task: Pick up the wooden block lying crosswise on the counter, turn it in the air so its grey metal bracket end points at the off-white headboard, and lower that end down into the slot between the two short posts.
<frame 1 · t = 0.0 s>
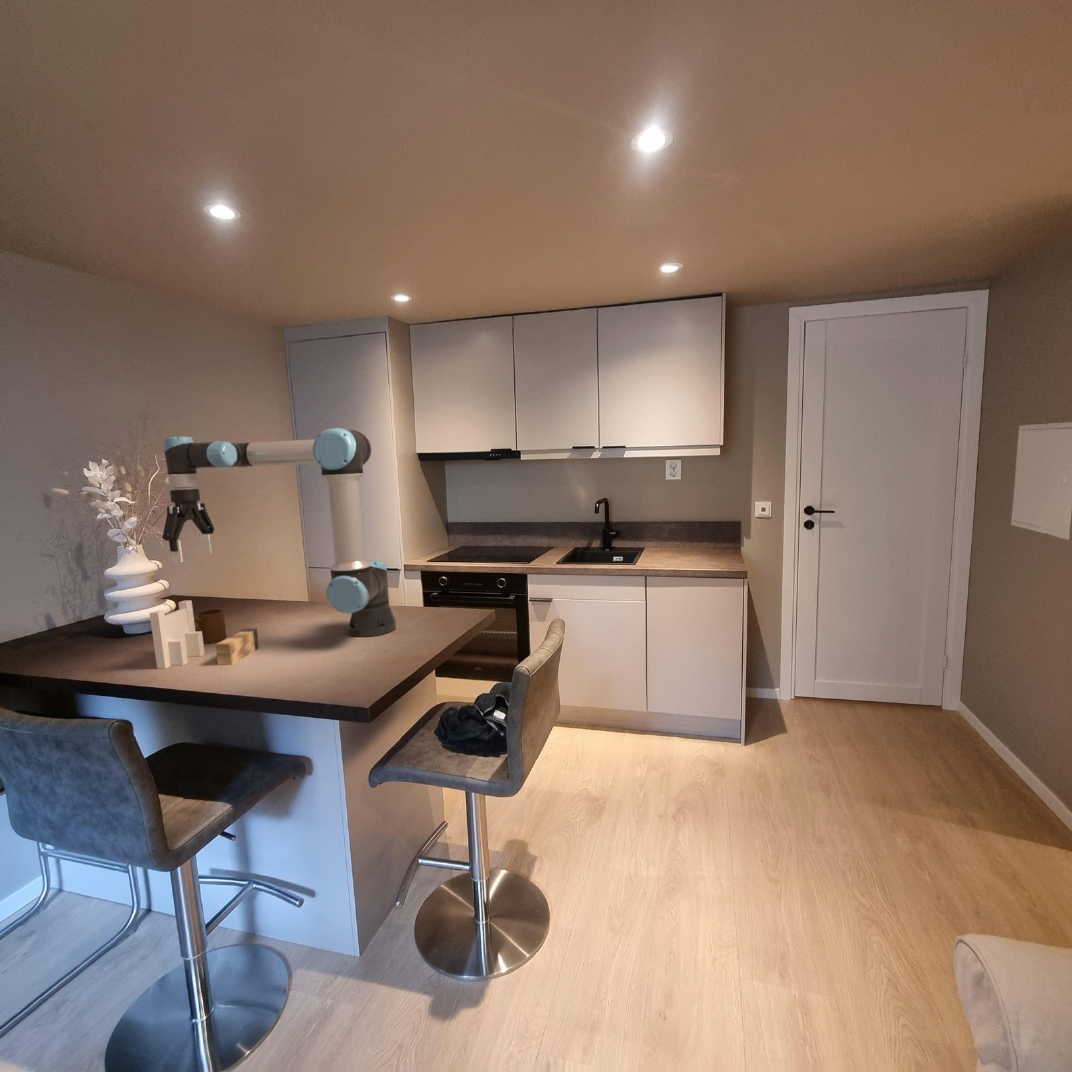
hand: (193, 558, 173), 28 cm above the countertop, fingers open, 13 cm apart
mug: (207, 643, 181), on the countertop
wooden block: (239, 656, 166), on the countertop
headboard: (185, 659, 165), on the countertop
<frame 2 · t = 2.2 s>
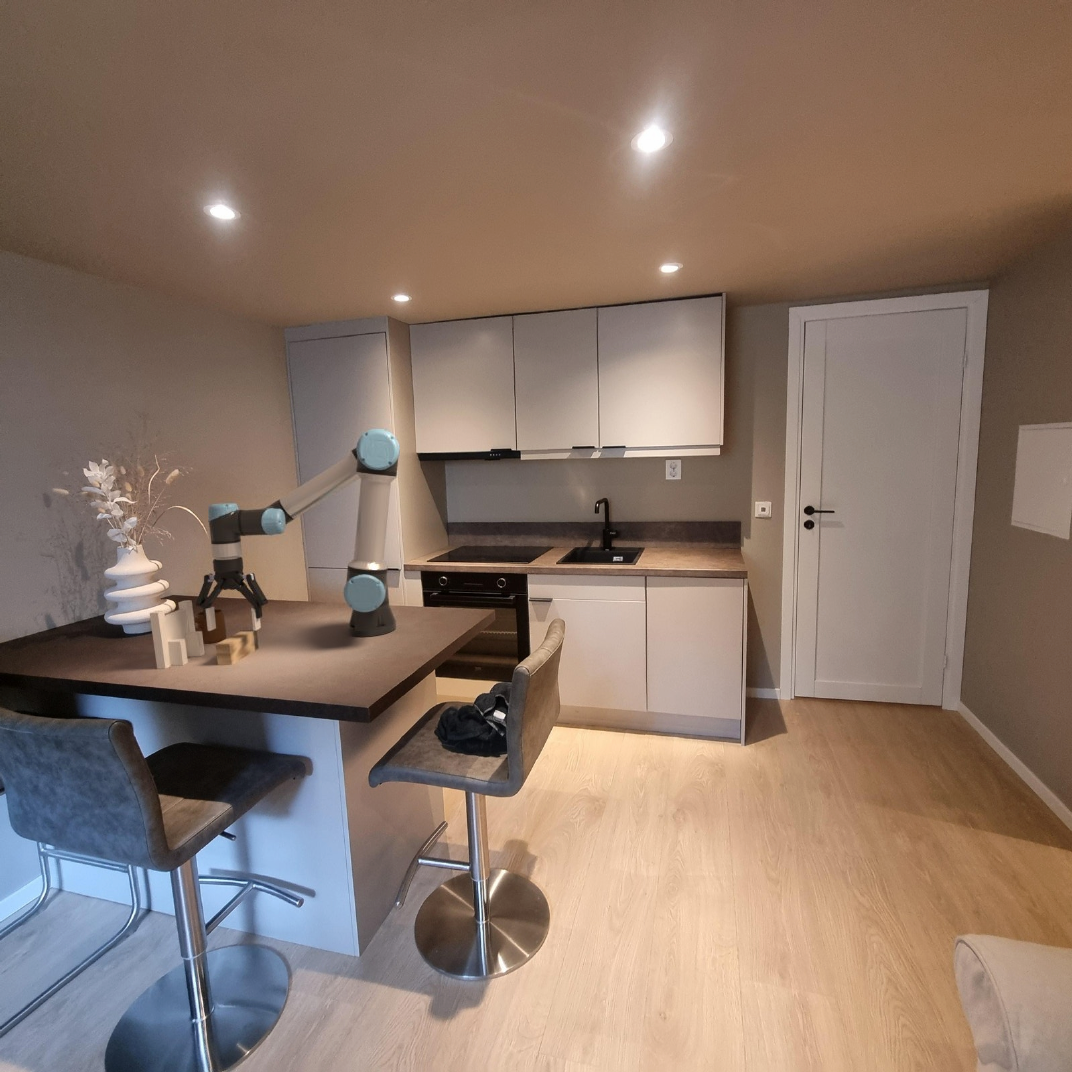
hand: (234, 629, 165), 8 cm above the countertop, fingers open, 13 cm apart
nothing on the countertop moved.
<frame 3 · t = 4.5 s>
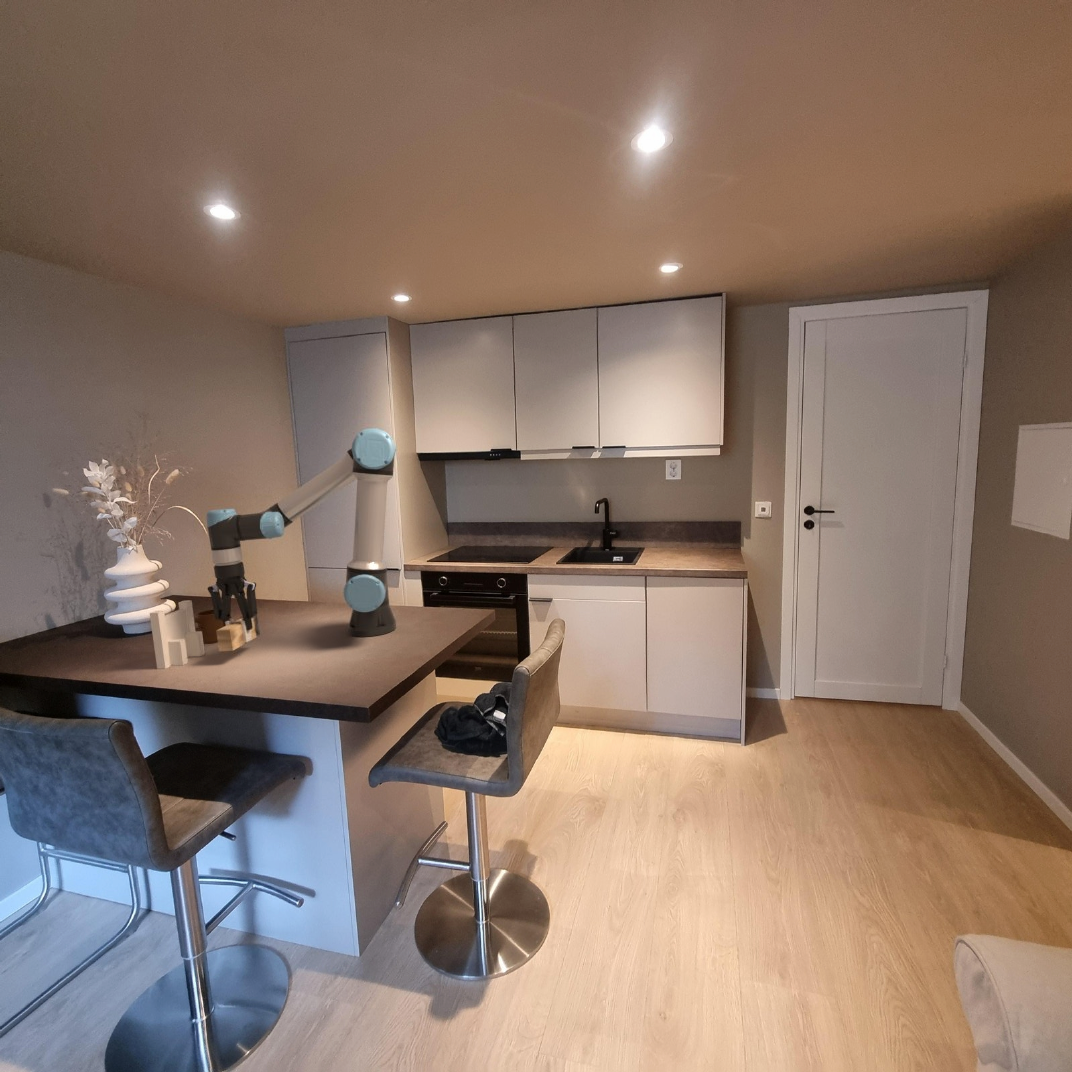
hand: (240, 641, 165), 4 cm above the countertop, fingers closed on wooden block, 4 cm apart
wooden block: (240, 642, 165), point 4 cm above the countertop, touching gripper
everything else where it was.
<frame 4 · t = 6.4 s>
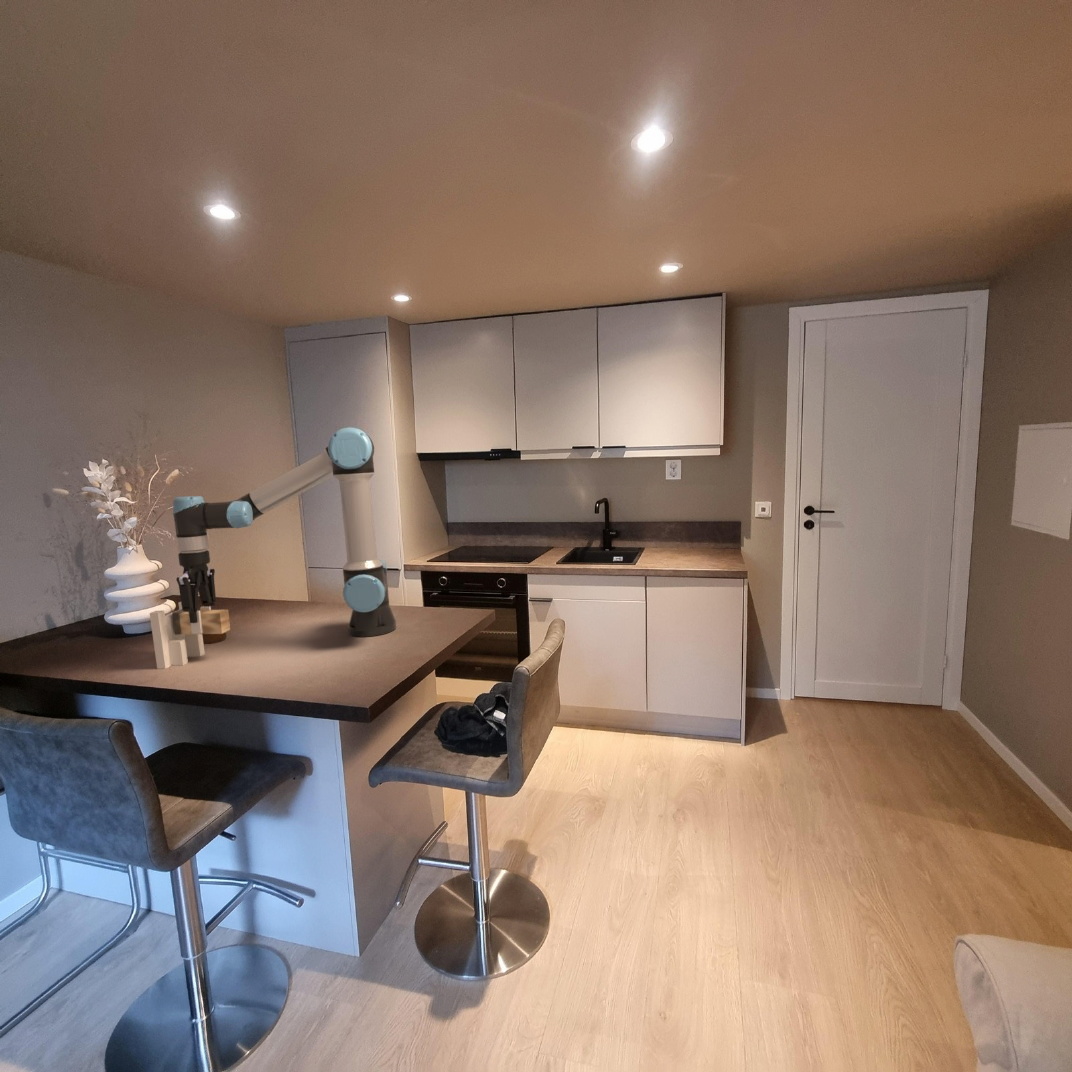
hand: (202, 630, 163), 9 cm above the countertop, fingers closed on wooden block, 4 cm apart
wooden block: (202, 632, 163), point 8 cm above the countertop, touching gripper
everything else where it was.
when the fingers open (0 cm above the countertop, at t = 8.5 s): wooden block stays where it is, on the countertop.
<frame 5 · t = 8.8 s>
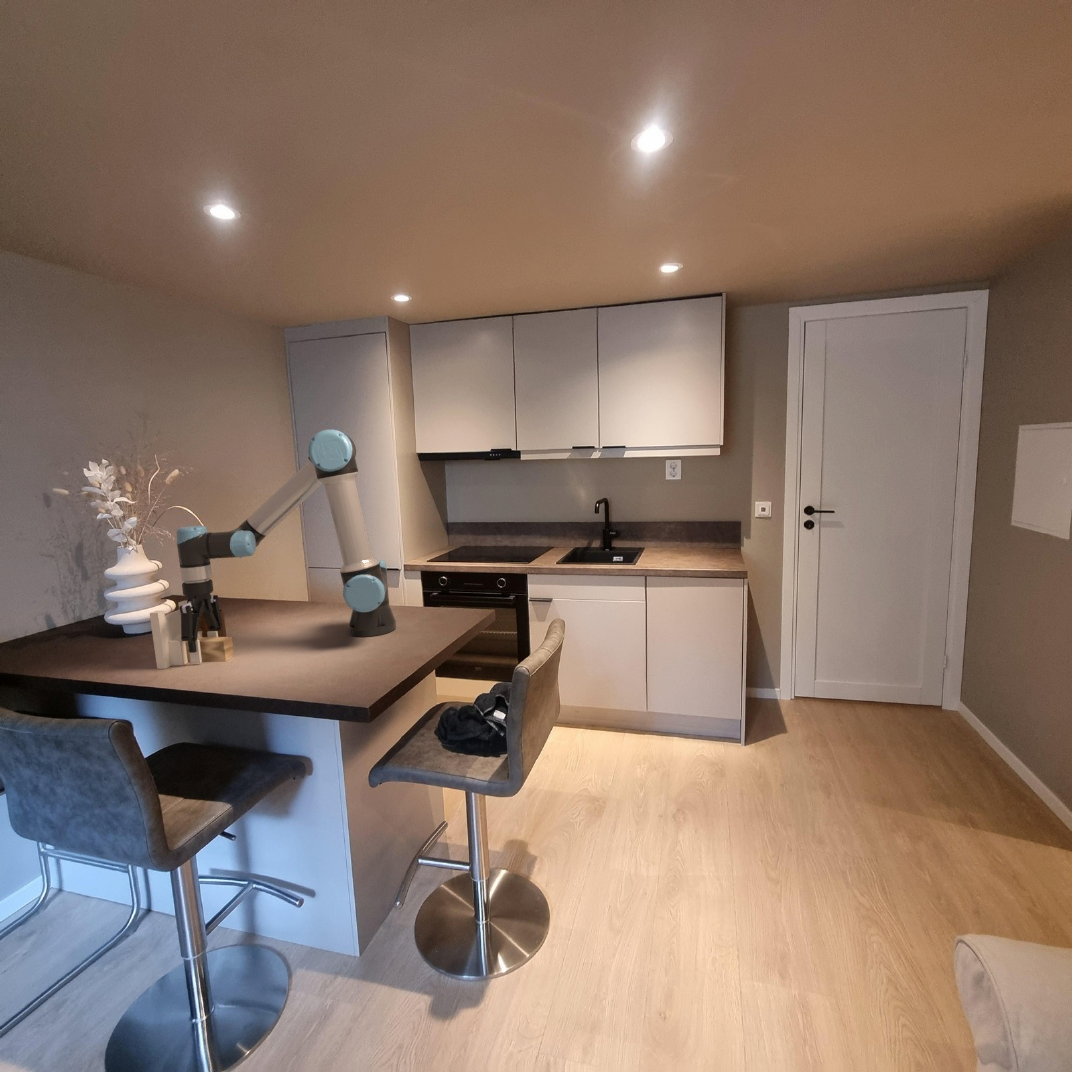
hand: (205, 657, 164), 1 cm above the countertop, fingers open, 8 cm apart
wooden block: (206, 659, 164), on the countertop
everything else where it was.
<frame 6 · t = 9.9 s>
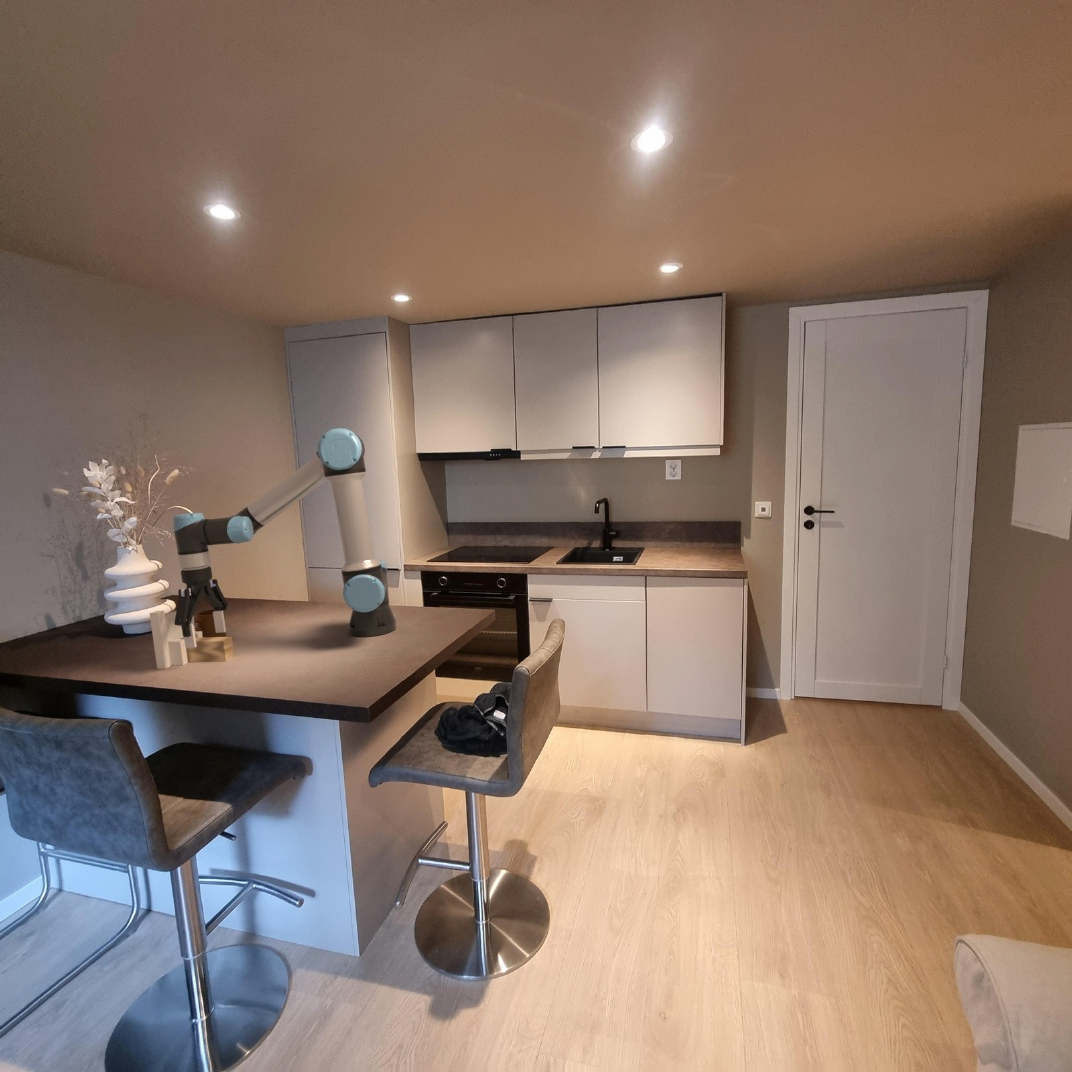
hand: (206, 639, 164), 6 cm above the countertop, fingers open, 13 cm apart
nothing on the countertop moved.
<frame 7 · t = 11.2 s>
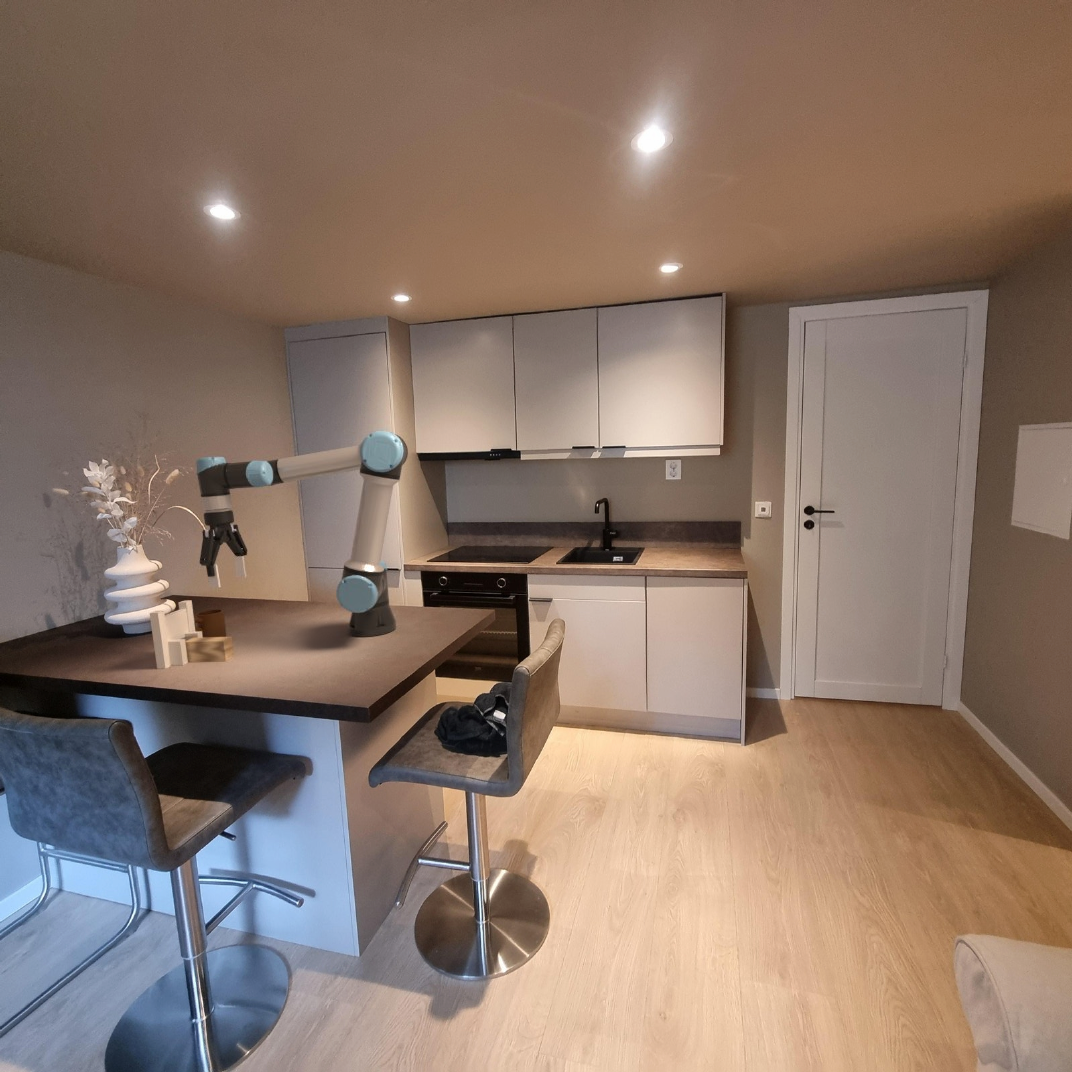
hand: (228, 582, 167), 21 cm above the countertop, fingers open, 13 cm apart
nothing on the countertop moved.
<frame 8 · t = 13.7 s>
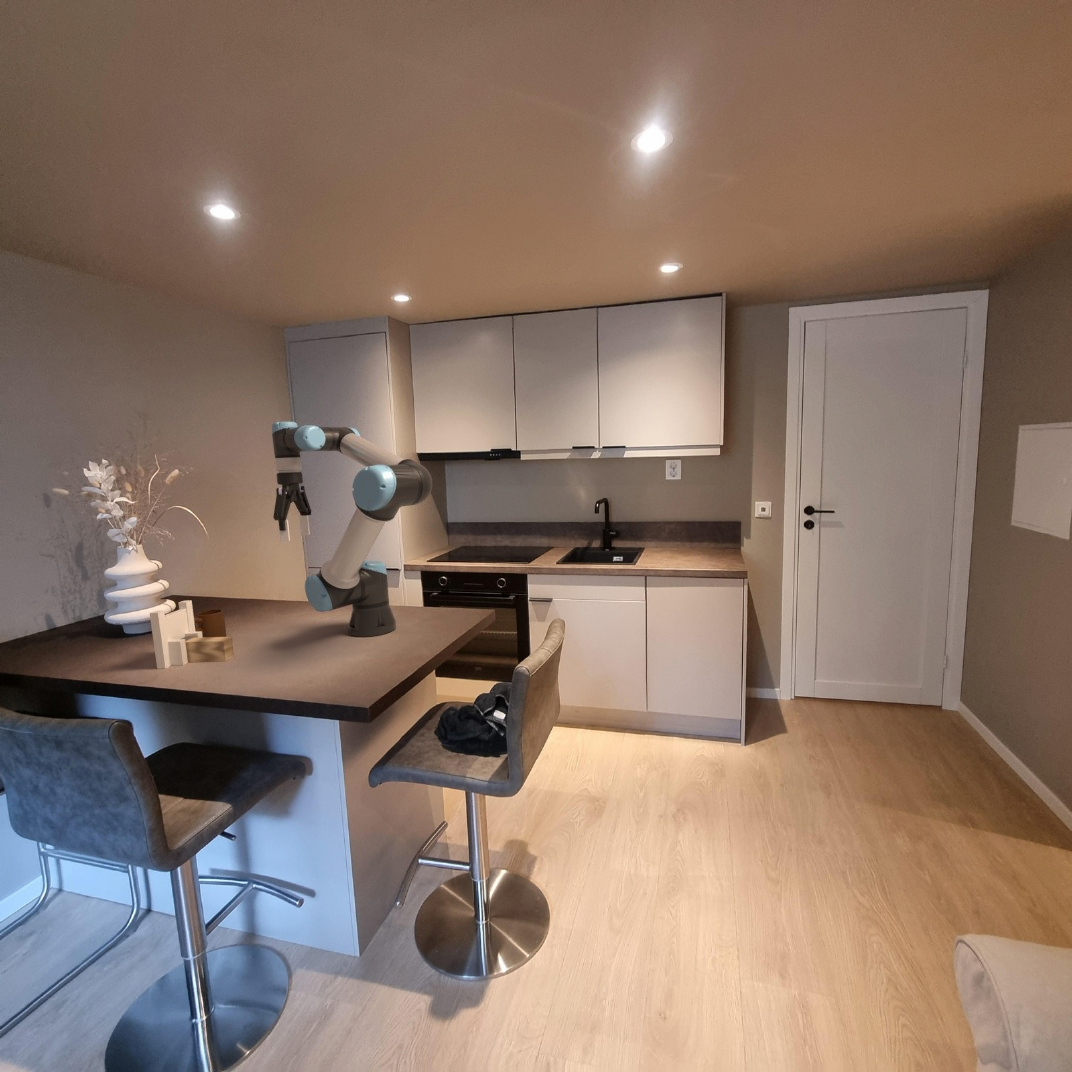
hand: (295, 538, 182), 32 cm above the countertop, fingers open, 13 cm apart
nothing on the countertop moved.
at the end: wooden block 0.4 cm from the target spot on the countertop beside the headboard, on the countertop; wooden block tilted 0°; the gripper is holding nothing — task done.
